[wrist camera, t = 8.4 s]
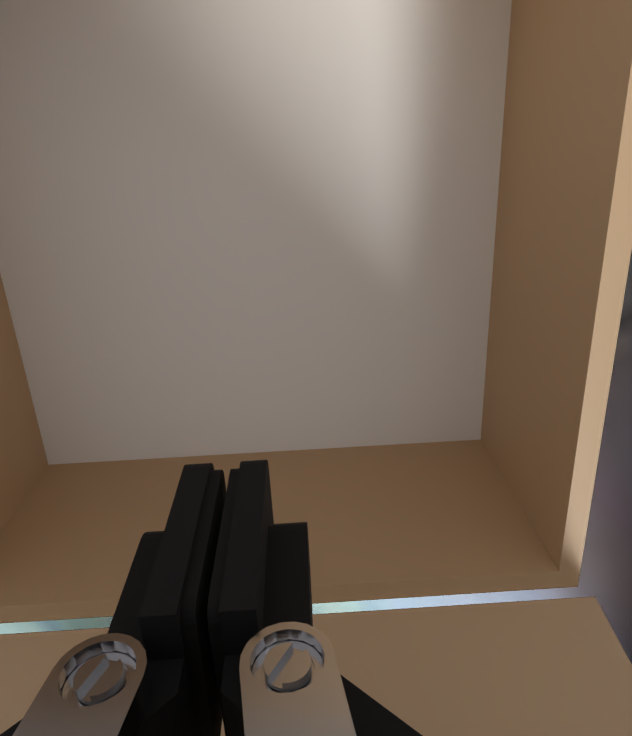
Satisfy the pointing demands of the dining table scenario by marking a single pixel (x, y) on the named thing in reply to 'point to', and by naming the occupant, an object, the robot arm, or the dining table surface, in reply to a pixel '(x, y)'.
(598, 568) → the dining table surface
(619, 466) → the dining table surface
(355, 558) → the box
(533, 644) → the mailer lid
